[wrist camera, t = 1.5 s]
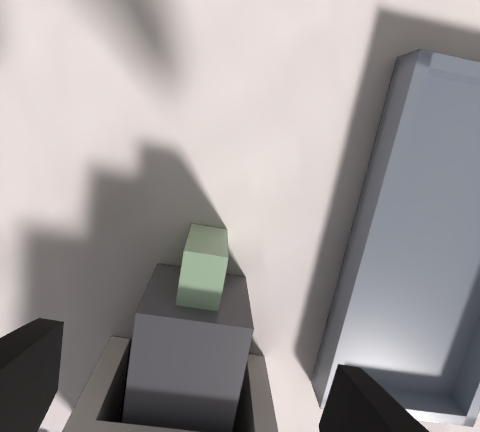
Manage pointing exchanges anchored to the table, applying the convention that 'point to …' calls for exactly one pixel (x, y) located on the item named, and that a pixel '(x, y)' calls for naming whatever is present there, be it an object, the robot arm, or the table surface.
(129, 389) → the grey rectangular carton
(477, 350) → the tray
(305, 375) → the table surface
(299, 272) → the table surface
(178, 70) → the table surface
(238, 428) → the sleeve
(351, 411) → the robot arm
